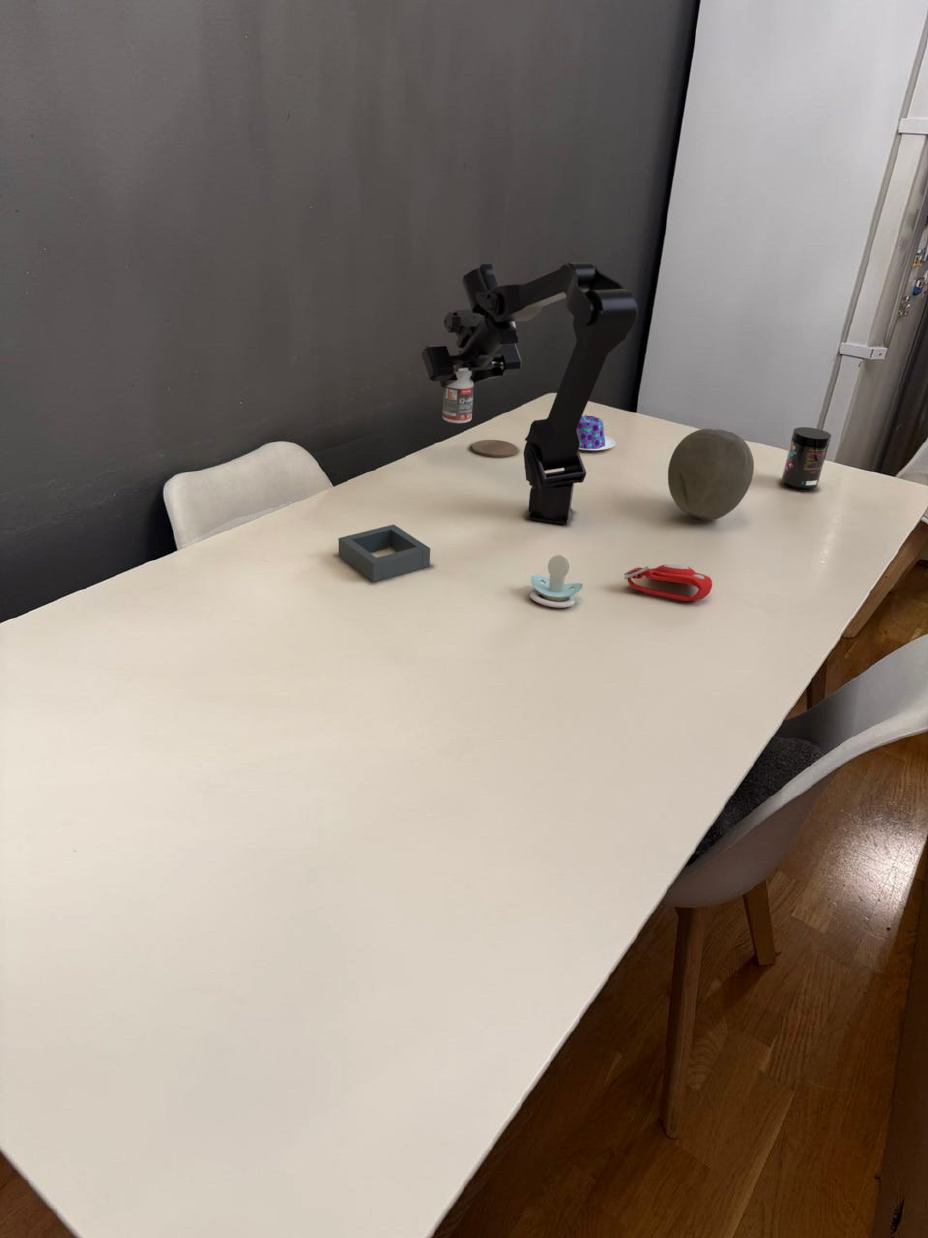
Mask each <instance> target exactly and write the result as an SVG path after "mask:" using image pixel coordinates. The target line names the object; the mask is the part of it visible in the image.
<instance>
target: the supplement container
mask: <svg viewBox="0 0 928 1238" xmlns="http://www.w3.org/2000/svg"><path fill="white" fill-rule="evenodd" d="M790 439H791V440H790V444H789V448H788V452H787V456H786V459H785V463H784V468H783V472H782V475H781V483H782V485H783V486H784V487H786V488H788V489H790V490H793V491H798V492H811V491H814V490H815V489H816V488H817V487H818V486H819V481H820V479H821V478H820V477H821V474H822V470H823V467H824V463H825V461H826V460H825V459H826V456H827V454H828V453H827V452H828V449H829V446H830V442H831V439H832V434H831V433H830V432H828V431H826V430H823V429H820V428H816V427H807V426H801V427H800V426H799V427H795V428H793V431H792V434H791V438H790Z"/></svg>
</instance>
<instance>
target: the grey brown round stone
mask: <svg viewBox="0 0 928 1238" xmlns="http://www.w3.org/2000/svg"><path fill="white" fill-rule="evenodd" d="M667 469H668V470H667V486H668V489H669V490H668V491H669V493H670V496H671V498H672V500H673V501H674V503H675V504H676V506H677V507H678V508H679V509H680V510H681V511H682V512H683V513H684V514H685V515H687V516H689V517H692V518H694V519H697V520H700V521H705V522H707V521H715V520H718V519H720V518H723V517H725V516H726V515H727V514H729V513H731V512H732V511H733V510H734V509H735V508H737V507H738V506H739V504H740V503H741V502H742V500H743V499H744V498H745V496H746V495H747V492H748V491H749V488H750V486H751V483H752V481H753V477H754V469H755V461H754V456H753V453H752V450H751V448H750V446H749V445H748V443H747V441H745V439H743V437H741V436H740V435H738V434H737V433H734V432H731V431H728V430H726V429H721V428H715V429H714V428H702V429H698V430H695V431H692V432H691V433H689V434H687V435H686V436H685V437H684V438H683V439H681V440H680V442H679V443H678V444H677V445H676V447H675V448H674V449H673V452H672V454H671V457H670V460H669V462H668V467H667Z"/></svg>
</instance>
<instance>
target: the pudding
mask: <svg viewBox="0 0 928 1238" xmlns="http://www.w3.org/2000/svg"><path fill="white" fill-rule="evenodd" d="M604 428H605V427H604V422H603V420H602V419H601V418H599V417H597V416H594V415H582V417H581V419H580V422H579V424H578V427H577V433H578V436H579V440H580V446H579V450H583V451H603V450H608V449H611V448H613V447H614V446H615V445H616V441H615V440H614V439H613V438H612V437H610V436H608V435H606V434H605V429H604Z"/></svg>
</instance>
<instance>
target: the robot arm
mask: <svg viewBox="0 0 928 1238" xmlns="http://www.w3.org/2000/svg"><path fill="white" fill-rule="evenodd" d="M461 283H462V286H463V289H464V291H465V294H466V297H467V301H468V303H469V306H470V308H471V309H457V310H454V311H449V312H448V313H447V314H446V315H445V317H444V320H443V326H444V328H445V329H446V331H447V332H448V334H451V333H454V334H455V335H456V337H457V340H456V341H455V344H456V346H457V348H459V349H460V350H458V351H457V354H453V355H451V354H450V352H449V350H448V346H447V345H446V344H443V343H442V344H428V345H425V347H424V349H423V350H422V352H421V353H420V354H421V357H422V360H423V363H424V366H425V369H426V372H427V375H428V378H429V380H430V381H431V382H439V383H440V386H441V388H444V387H446V386H448V385H450V384H451V383H453V382H455V381H457V380H458V379H457V376H456V373H457V372H458V370H459V369H467V368H468V371H472V375H471V376H470V379H471V380H472V381H473V383H474V385H475V384H478V383H482V382H484V381H488V380H492V379H495V378H498V377H503V375H504V376H506V375H516V374H517V373H518V372H519V371H520V370H521V368H522V363H523V361H522V357H521V355H520V352H519V350H518V348H517V345H518V344H519V336H518V332H517V331H518V330H517V326H516V325H517V324H516V322H528V321H530V320H532V319H534V318H535V317H536V316H538V315H539V314H540V313H541V310H542V308H543V307H545V306H547V305H550V304H553V303H555V302H558V301H561V300H563V299H566V300H565V301H566V302H565V303H566V304H565V305H566V306H565V307H566V309H567V310H568V311H569V312H570V314H571V315H572V316H573V321H572V327H573V331H574V335H575V339H576V342H575V346H574V348H573V350H572V353H571V355H570V358H569V360H568V363H567V366H566V369H565V372H564V374H563V377H562V379H561V382H560V384H559V387H558V390H557V392H556V395H555V397H554V400H553V403H552V406H551V408H550V411H549V414H548V416H547V417H546V418H543V419H536V420H533V421H532V422H531V424H530V426H529V430H528V433H527V436H526V437H525V438H524V441H525V445H524V448H523V460H524V461H523V462H524V463H523V464H524V473H525V480H526V481H527V482H528V484H529V486H530V489H529V497H528V498H529V499H528V508H527V511H528V513H529V514H528V519H529V520H531V521H538V522H545V523H551V524H557V525H563V526H565V525H568V524H569V521H570V518H571V516H572V513H573V508H572V502H573V495H574V486H575V484H582V483H584V481H585V479H586V476H587V470H586V468H585V465H584V461H583V460H582V457H581V454H580V451H579V450H580V449H579V446H580V440H579V436H578V433H577V427H578V424H579V422H580V419H581V417H582V416H583V414H584V412H585V410H586V407H587V405H588V403H589V400H590V397H591V395H592V393H593V391H594V388H595V387H596V386H595V385H596V383H597V382H598V381H597V380H598V378H599V376H600V373H601V371H602V369H603V366H604V364H605V361H606V359H607V357H608V355H609V353H611V351H613V350H614V349H615V348H616V347H617V346H619V345H620V344H621V343H622V342H623V341H624V340H625V339H626V338H627V336H628V335H629V333H630V331H631V330H632V328H633V326H634V325H635V323H636V321H637V318H638V313H639V310H638V303H637V301H636V299H635V296H634V295H633V294H632V292H631V291H630V290H629V289H626V287H625V286H624V285H623V284H622V283H621V282H619V281H617V280H616V279H614V278H612V277H610V276H609V275H607V274H605V273H603V272H602V271H601V270H600V269H599V268H598V267H597V266H596V265H595V264H594V263H592V262H589V261H585V262H584V261H583V262H566V263H564V264H562V265H561V266H560V267H558V268H556V269H554V270H552V271H550V272H547V273H545V274H542V275H540V276H537V277H535V278H534V279H530V280H529V281H526V282H524V283H517V284H503V285H502V284H501V285H499V282H498V279H497V277H496V274H495V269H494V267H493V263H481V264H480V266H479V267H478V268H477V267H476V268H474V269H472V270H470V271H469V272H467V273H466V274H463V276H462V279H461ZM560 469H563V470H560ZM553 470H557V471H553ZM546 471H552V472H546Z"/></svg>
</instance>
